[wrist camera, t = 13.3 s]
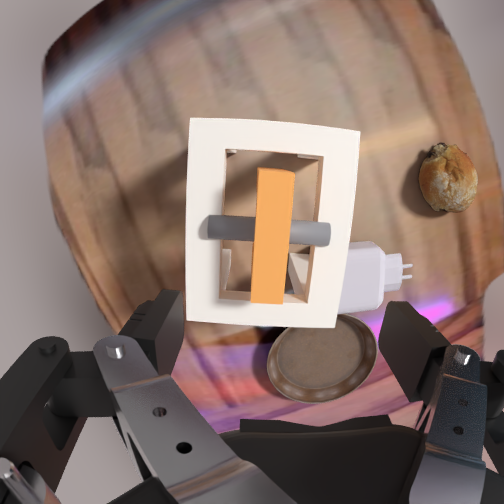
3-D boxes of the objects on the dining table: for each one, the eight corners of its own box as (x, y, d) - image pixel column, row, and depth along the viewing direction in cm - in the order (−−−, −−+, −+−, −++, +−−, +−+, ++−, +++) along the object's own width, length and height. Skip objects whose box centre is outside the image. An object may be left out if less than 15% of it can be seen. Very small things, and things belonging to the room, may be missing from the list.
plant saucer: (254, 319, 47) (254, 329, 44) (367, 291, 45) (374, 299, 42) (278, 401, 52) (279, 412, 49) (374, 377, 50) (379, 387, 47)
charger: (402, 293, 45) (311, 304, 46) (406, 236, 43) (309, 244, 43) (415, 305, 41) (317, 319, 41) (421, 244, 38) (316, 254, 39)
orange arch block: (257, 167, 32) (259, 170, 21) (282, 168, 32) (294, 173, 21) (251, 260, 34) (250, 302, 24) (274, 261, 34) (282, 304, 24)
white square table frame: (214, 133, 39) (187, 116, 23) (321, 141, 39) (364, 130, 23) (209, 265, 44) (184, 325, 28) (308, 271, 44) (336, 333, 28)
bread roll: (404, 194, 45) (425, 225, 39) (418, 134, 38) (445, 159, 32) (452, 196, 44) (475, 226, 38) (468, 142, 38) (497, 167, 32)
